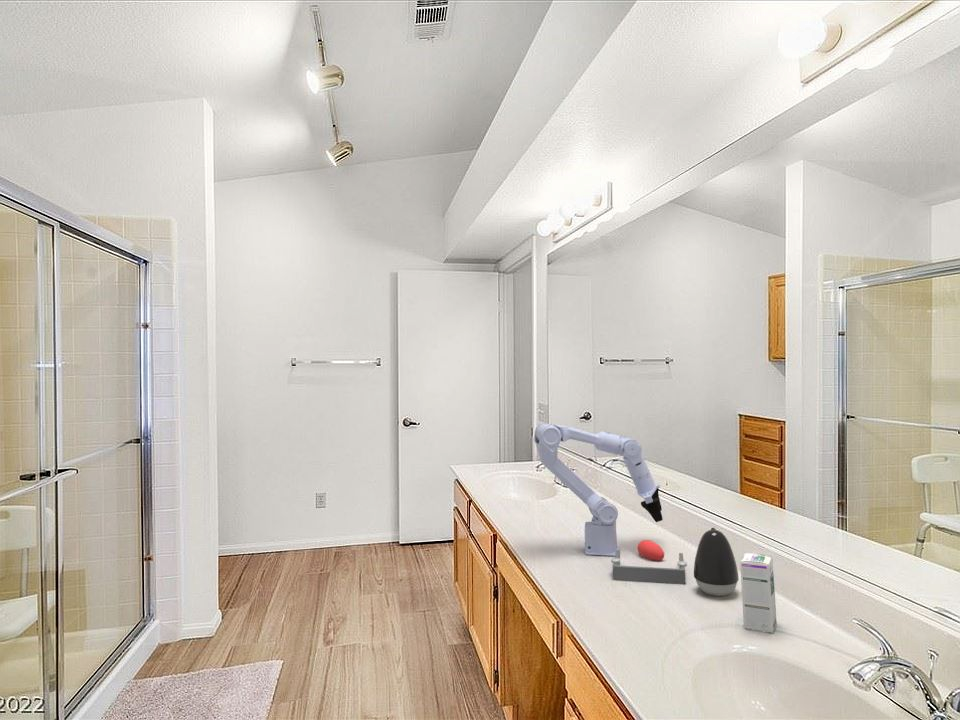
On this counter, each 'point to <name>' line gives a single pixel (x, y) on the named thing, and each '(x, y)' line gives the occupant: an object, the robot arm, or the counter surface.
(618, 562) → the gray u-shaped bracket
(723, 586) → the black egg-shaped device
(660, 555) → the red kidney bean shape
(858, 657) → the counter surface
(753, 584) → the syrup box
